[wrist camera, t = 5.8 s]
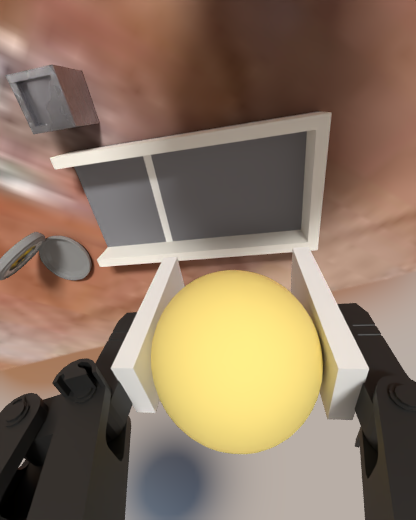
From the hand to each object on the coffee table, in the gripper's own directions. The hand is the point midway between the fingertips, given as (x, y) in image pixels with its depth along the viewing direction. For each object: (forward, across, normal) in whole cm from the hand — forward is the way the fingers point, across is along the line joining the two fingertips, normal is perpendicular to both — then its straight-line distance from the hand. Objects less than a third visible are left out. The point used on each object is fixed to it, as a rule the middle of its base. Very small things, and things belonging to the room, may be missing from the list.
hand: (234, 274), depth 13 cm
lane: (+15, -4, 0) cm, 15 cm away
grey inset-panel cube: (+15, -14, +10) cm, 23 cm away
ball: (-2, 0, 0) cm, 2 cm away
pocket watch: (+15, -23, -5) cm, 28 cm away
